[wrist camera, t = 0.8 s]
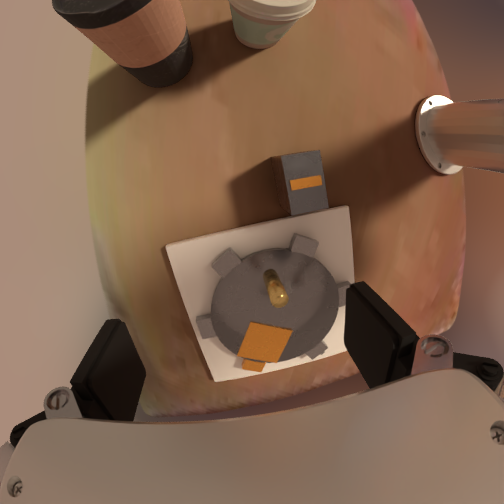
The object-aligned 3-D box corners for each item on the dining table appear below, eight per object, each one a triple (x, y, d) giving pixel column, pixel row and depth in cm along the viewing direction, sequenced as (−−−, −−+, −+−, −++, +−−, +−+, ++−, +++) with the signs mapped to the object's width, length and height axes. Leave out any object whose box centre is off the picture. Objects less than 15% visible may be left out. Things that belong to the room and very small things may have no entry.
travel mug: (154, 31, 23) (100, -63, 4) (206, 48, 25) (191, -61, 6) (123, 79, 25) (30, 15, 6) (175, 98, 27) (111, 21, 8)
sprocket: (343, 221, 32) (371, 237, 26) (349, 343, 39) (367, 372, 32) (177, 258, 32) (165, 284, 25) (218, 375, 38) (219, 410, 32)
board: (345, 205, 33) (349, 206, 32) (352, 344, 41) (354, 348, 40) (166, 244, 32) (165, 247, 31) (215, 377, 40) (215, 382, 39)
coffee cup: (259, 70, 27) (277, 26, 15) (209, 31, 24) (203, -22, 13) (305, 35, 25) (340, -11, 14) (257, -2, 23) (271, -56, 12)
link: (302, 151, 31) (320, 150, 25) (311, 199, 33) (329, 208, 27) (270, 157, 30) (281, 156, 25) (280, 205, 32) (292, 215, 27)
